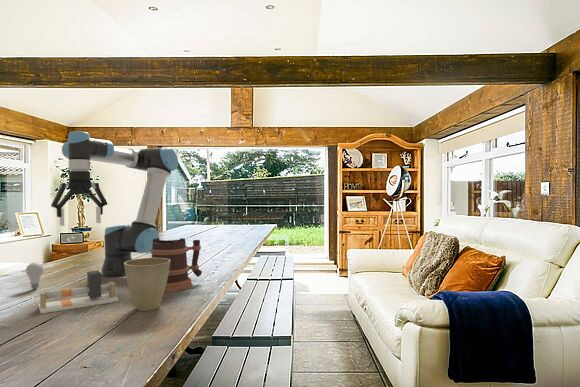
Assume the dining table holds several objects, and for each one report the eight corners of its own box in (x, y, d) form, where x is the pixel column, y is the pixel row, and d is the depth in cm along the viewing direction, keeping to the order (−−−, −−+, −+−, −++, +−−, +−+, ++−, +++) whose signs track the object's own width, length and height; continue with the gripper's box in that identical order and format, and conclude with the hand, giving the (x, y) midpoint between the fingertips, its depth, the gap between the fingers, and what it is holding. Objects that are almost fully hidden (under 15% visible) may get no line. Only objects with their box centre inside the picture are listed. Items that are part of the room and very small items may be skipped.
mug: (208, 287, 167) (207, 238, 167) (150, 294, 156) (149, 242, 156) (195, 278, 183) (195, 234, 183) (142, 285, 172) (141, 237, 172)
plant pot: (127, 317, 129) (126, 267, 129) (122, 305, 142) (121, 259, 142) (175, 310, 136) (174, 262, 135) (166, 299, 149) (165, 256, 149)
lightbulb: (35, 291, 163) (34, 264, 163) (22, 290, 164) (21, 263, 164) (47, 287, 169) (46, 261, 169) (34, 287, 170) (34, 261, 170)
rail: (112, 295, 156) (111, 280, 155) (118, 301, 147) (117, 285, 147) (38, 306, 142) (38, 289, 142) (40, 313, 134) (40, 295, 134)
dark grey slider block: (98, 293, 151) (98, 270, 151) (101, 296, 146) (100, 272, 146) (87, 295, 149) (87, 271, 148) (90, 298, 144) (89, 274, 144)
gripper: (107, 171, 173) (108, 221, 173) (41, 170, 155) (42, 226, 155) (115, 171, 168) (116, 222, 168) (47, 169, 150) (48, 227, 150)
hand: (80, 224), depth 162 cm, fingers open, 13 cm apart
